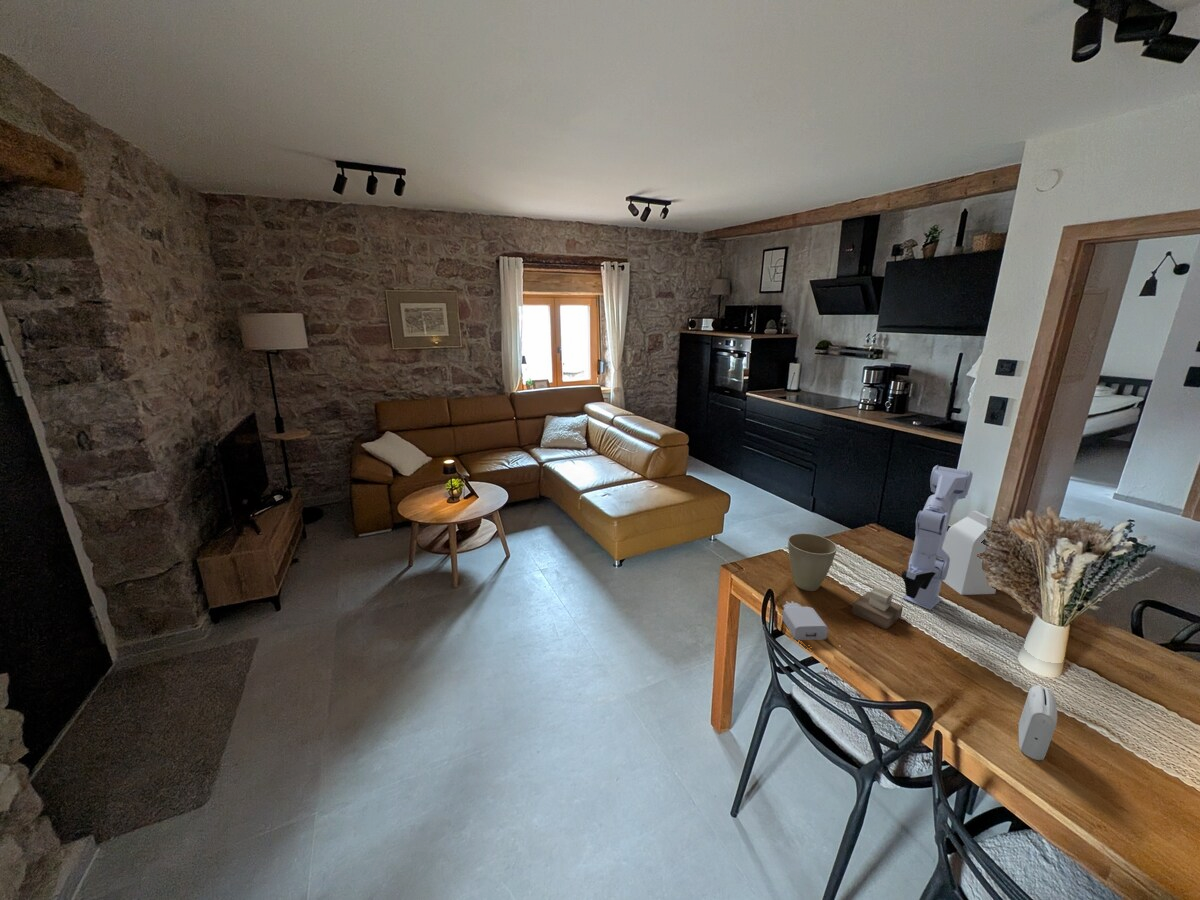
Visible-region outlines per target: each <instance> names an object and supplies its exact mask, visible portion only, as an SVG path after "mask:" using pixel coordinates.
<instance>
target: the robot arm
mask: <svg viewBox="0 0 1200 900" xmlns="http://www.w3.org/2000/svg"><path fill="white" fill-rule="evenodd" d="M973 474H974V473H973V472H972V471H971V470H962V469H957V468H953V467H952V468H951V467H945V466H941V465H940V466H939V464H937V465H935V466H934V467H933V468H932V471H931V474H930V480H929V482H930V483H929V484H930V487H929V488H930V491H931V492H932V493H933V494H931V495H930V496H928V498H927V500H926V502H925V504H924V507H923V509H922V510H919V511H918V513H917V516H916V518H915V532H914V534H915V537H914V541H913V547H912V552H911V555H910V557H909V560H908V563H907V564H908V565H907V568H908V569H907V571H906V570H903V571H902V572H901V577H902V580H903V581H904V589H905V595H903V596H902V599H903V600H905V601H908V602H910V603H912V604H915V605H916V606H920V607H922V608H924V609H926V610H929V611H931V610H933V608H935V606H936V605H938V604H939V603H940V602H941V601H942V597H940V596H939V595H940V592H941V586H942V582H943V580H945V579H946V576H947V573H948V569H949V563H950V557H949V555H948V554H947V553H946V552H945V551H944V550H943V549H942V548H943V545H944V542H945V538H946V535H947V532H948V529H949V525H950V521H951V518H952V514H953V510H954V507H955V505H956V503H957V502H958V501H959V500H963V499H966V496H968V493H969V490H970V487H971V483H972V479H973ZM939 558H941V559H943V560H941V559H939Z"/></svg>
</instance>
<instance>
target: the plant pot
mask: <svg viewBox="0 0 1200 900" xmlns="http://www.w3.org/2000/svg"><path fill="white" fill-rule="evenodd" d="M787 544H788V547H787V548H788V557H789V565H790V568H791V569H790V570H791V573H792V578H793V582H794V585H796V587H797V588H799V589H801V590H804V591H807V592H808V591H809V592H815V591H817V590H818V589H820V586H821V585H822V584H823V582H824V580H825V579H826V577H827V575H828V573H829V572H830V569H831V566H832V564H833V562H834V560H835V557H836V553H837V551H838V546H837V545H836V543H835V542H834V541H832V540H830V539H828V538H826V537H824V536H822V535H818V534H814V533H806V532H805V533H801V532H800V533H795V534H792V535H790V536H789V537H788V539H787Z"/></svg>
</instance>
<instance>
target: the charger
mask: <svg viewBox="0 0 1200 900" xmlns="http://www.w3.org/2000/svg"><path fill="white" fill-rule="evenodd" d="M782 607H783V611H782V617H781V618H782V621H783V623H784V624H785V626H786V627H787V629H788V631H789V632H790V634H791V636H792V637H793V639H794V640H795V641H807V640H808V641H809V640H811V641H812V640H813V641H815V640H826V639H827V637H828V630H829V627H828V626H827V624H826V623H825V622H824V620H823V619H822V618H821V616H819V614H818V612H817V611H816V610H815V608H813V607H810V606H802V604H801V603H797V602H794V601H793V600H791V602H788V601H787V600H786V601H785V604H783V605H782Z"/></svg>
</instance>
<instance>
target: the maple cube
mask: <svg viewBox="0 0 1200 900" xmlns="http://www.w3.org/2000/svg"><path fill="white" fill-rule="evenodd" d="M870 592H871V593H870V599H869V605H871V606H873V607H876V608H878V609H880V610H882V611H885V610H886V609H888V608H889V607H890V606H891V601H892V602H893V595H894V592H893V591H890V590H887V589H885V588H882V587H879V586H876V587H874V588H873V589H872V590H871V591H870Z"/></svg>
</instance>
